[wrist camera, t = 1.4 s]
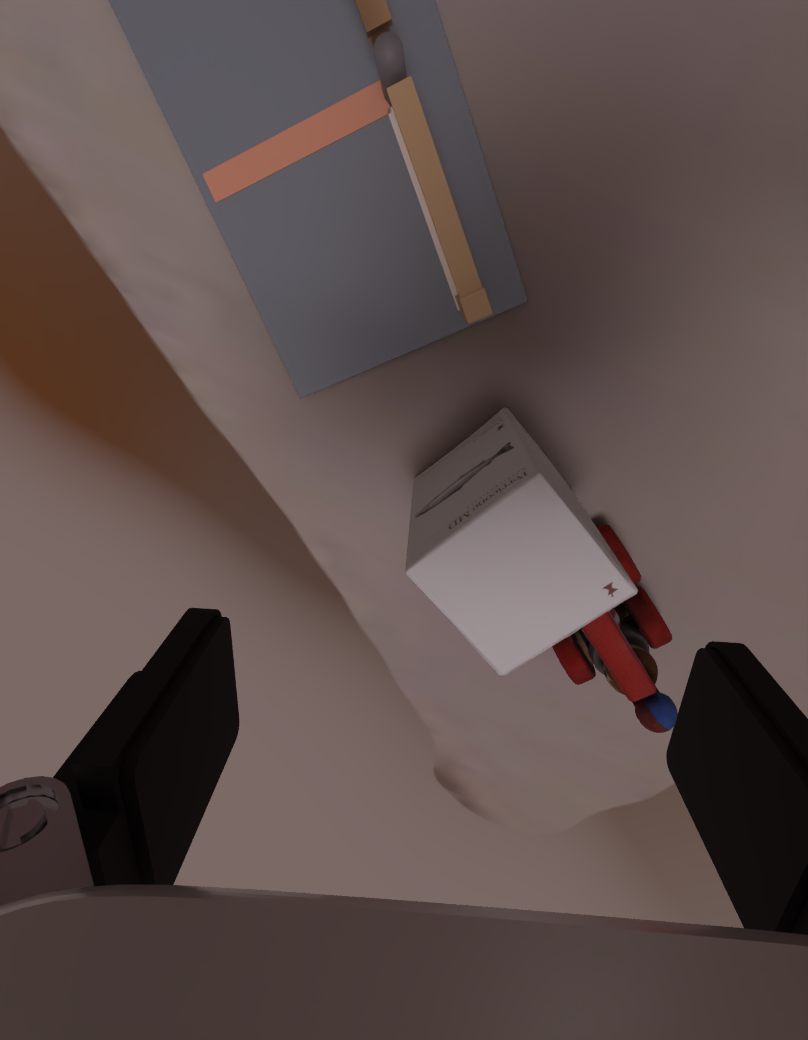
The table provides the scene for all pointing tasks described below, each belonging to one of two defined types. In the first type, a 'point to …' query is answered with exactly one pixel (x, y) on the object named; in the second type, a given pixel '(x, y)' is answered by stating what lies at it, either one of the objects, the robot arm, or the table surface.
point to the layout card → (333, 172)
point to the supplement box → (509, 547)
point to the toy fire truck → (623, 649)
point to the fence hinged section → (374, 18)
